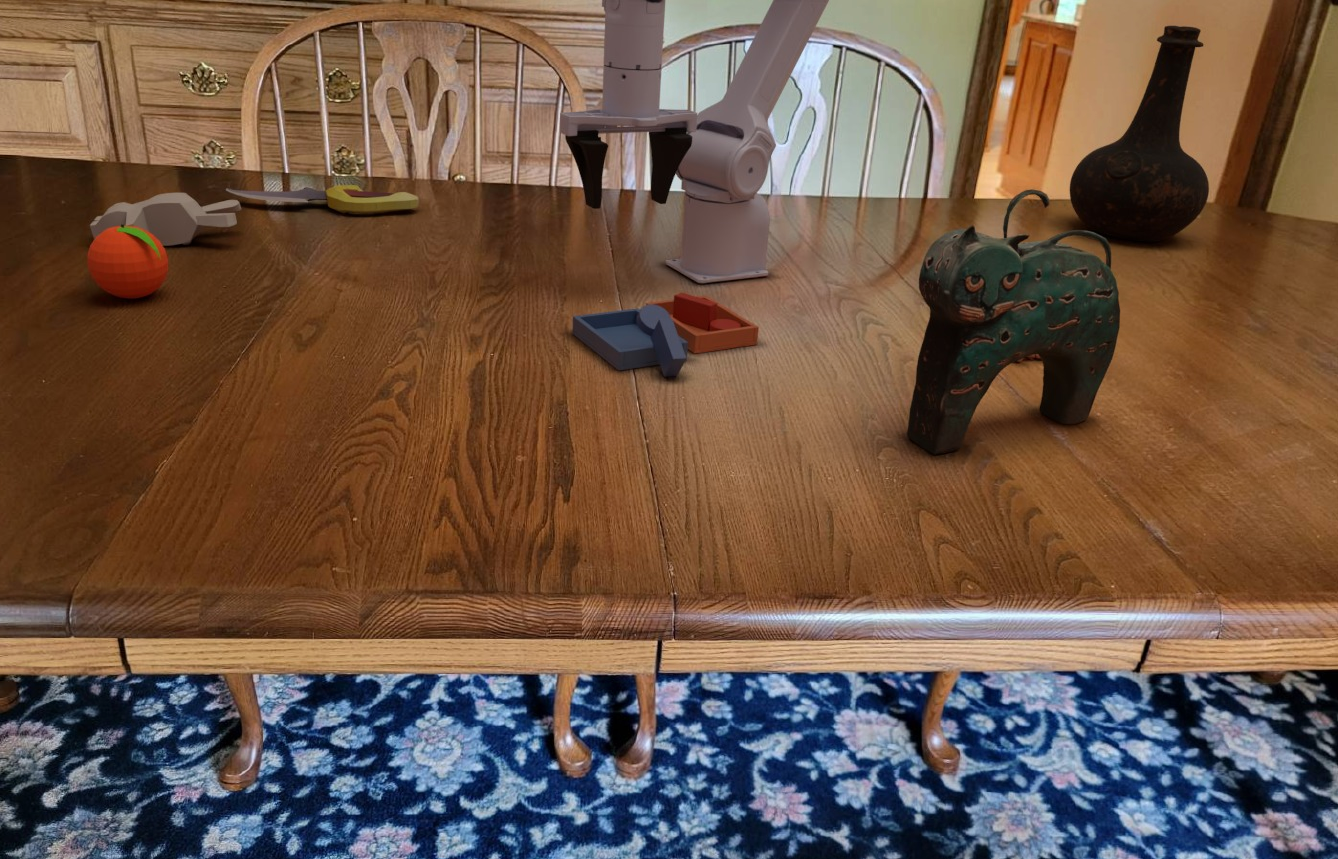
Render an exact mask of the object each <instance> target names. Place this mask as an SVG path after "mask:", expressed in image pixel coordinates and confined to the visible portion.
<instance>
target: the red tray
mask: <svg viewBox="0 0 1338 859" xmlns="http://www.w3.org/2000/svg"><path fill="white" fill-rule="evenodd" d="M698 297H699V298H702V299H705V300H709V301H712V302H715V303H717V315H716V319H729V320H734V321H736V322H738V323H740V325H741V328H734V329H726V330H719V331H712V332H709V331H707V330H704V329H701V328H698V327H694V326H691V325H688V324H685V323H682V322H679V321H678V320H676V319H675V318H673V306H674V299H666V300H658V301H657V300H656V301H649V302H645V306H646V305H650V304H653V305H658V306H660V307H662V308H664V309H665V310H666V311H667V312H668V313H669V315H670V317H671V319H673V322H674V325H675V328H676V330H677V333H678V336H680V337H681V338H683V339H684V340H685V341H687V342H688V349H687V351H690V352H691V353H692V354H700V353H701V354H702V353H708V352H715V351H721V350H728V349H735V348H736V349H737V348H742V347H749V346H755V345H757V344H758V338H759V328H760V327H759V326H758V325H757V324H755V323H753V322H751V321H749V320H748V319H747V318H744V317H743V316H741V315H739V314H738V313H736V312H734V311H732V310H731V309H730V308H728V307H726V306H725V305H723V304H721V303H719V302H717V301H716V300H714V299H712V298H711V297H709V296H708V295H700V296H698Z"/></svg>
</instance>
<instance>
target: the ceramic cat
mask: <svg viewBox="0 0 1338 859" xmlns="http://www.w3.org/2000/svg"><path fill="white" fill-rule="evenodd" d="M1028 196H1037V197H1038V198H1039V199H1040V200H1041V202H1042V204H1043V207H1044V209H1046V208H1048V207H1049V206H1050V198H1049V196H1048V193H1045V192H1043V191H1042V190H1037V189H1034V188H1033V189H1032V188H1031V189H1025V190H1023V191H1021V192H1020V193H1018V194H1016V195H1015V196H1014V197H1013V198H1012V199H1011V200H1010V202H1009V204H1008V206H1007V208H1006V213H1005V216H1004V218H1003V225H1002V231H1003V237H1000V238H999V237H993V236H990V235H987V234H985V233H983V232H979V231H976V228H975V225H974V224H971V225H970V226H969V227H967V228H966V229H964V228H955V229H953V230H950V231H947V232H946V233H944V234H942V235H941V236H940V237H939V238H937V239H936V240H935V241H933V243H932V244H931V245H930V247H929V248H928V250H927V251H926V254H925V255H924V257H923V261H922V265H921V267H920V271H919V276H918V290H919V293H920V295H921V297H922V299H923V300H924V303H925V304H926V305H927V306H928V308H929V318H928V322H927V325H926V328H925V331H924V335H923V340H922V343H921V347H920V349H919V353H918V357H917V363H916V368H915V370H916V371H915V384H914V389H913V394H912V398H911V403H910V406H909V415H908V423H907V430H906V431H907V432H906V437H907V438H908V439H909V440H911V441H912V442H913V443H915V444H916V445H918V446H919V447H920V448H922V449H924V450H925V451H927V452H928V453H930V454H932V455H933V456H935V455H940V454H947V453H950V452H951V453H952V452H957V451H958V450H960V449H961V448H962V445H963V442H964V439H965V437H966V434H967V432H968V429H969V427H970V424H971V421H972V419H973V416H974V414H975V412H976V409H977V408H978V406H979V404H980V402H981V400H982V399H983V398H984V396H985V395H986V393H987V392H988V390H989V389H990V387H991V385H992V383H993V382H994V380H995V379H996V378H997V376H998V375H999V374H1000V373H1001V372H1002V371H1003V370H1004V369H1005V368H1006V367H1008V366H1009V365H1011V364H1014V363H1016V362H1019V361H1018V360H1020V359H1022V358H1024V359H1025V358H1028V357H1027V356H1030V355H1034V354H1038V355H1039V356H1040V357H1041V358H1040V360H1041V362H1042V365H1043V370H1042V371H1043V373H1042V374H1043V375H1042V376H1043V377H1042V393H1041V398H1040V404H1039V408H1038V409H1039V410H1038V411H1039V413H1040V414H1042V415H1043V416H1046V417H1048V418H1050V419H1051V420H1052V421H1054V422H1056V423H1059V424H1063V425H1076V424H1079V423H1083V422H1084V421H1086V420H1087V419H1088V418H1089V415H1090V413H1091V411H1092V408H1093V405H1094V402H1095V400H1096V396H1097V394H1098V392H1099V390H1100V387H1101V385H1102V383H1103V382H1104V378H1105V376H1106V374H1107V372H1108V369H1109V367H1110V365H1111V362H1112V361H1113V357H1114V354H1115V350H1116V347H1117V341H1118V336H1119V333H1120V326H1121V325H1120V324H1121V306H1120V301H1119V299H1120V298H1119V295H1120V292H1119V288H1118V284H1117V279H1116V277H1115V275H1114V273H1113V271H1112V250H1111V245H1110V243H1109V241H1108V239H1107V238H1106V237H1104V236H1102V235H1100V234H1098V233H1096V232H1093V231H1089V230H1085V229H1084V230H1083V229H1082V230H1081V229H1074V230H1073V229H1072V230H1067V231H1064V232H1061V233H1058V234H1056V235H1054V236H1052V237H1050V238H1047V239H1045V240H1041V241H1040V240H1039V241H1036V240H1035V241H1030V242H1029V241H1028V242H1023V241H1026V240H1027V239H1029V237H1030V234H1016V235H1012V236H1009V237H1008V227H1009V221H1010V215H1011V214H1012V211H1013V210H1014V208H1015V207H1016V205H1017V204H1018V203H1019V202H1020V201H1021V200H1022V199H1024V198H1025V197H1028ZM1071 236H1081V237H1084V238H1087V239H1088V238H1089V239H1091V240H1092V239H1093V240H1095V241H1097V242H1099V243H1100V244H1101V246H1102V248H1103V249H1104V253H1105V262H1104V261H1103V260H1102V259H1101V258H1100V257H1099V256H1097V255H1095V254H1093V253H1092V252H1089V251H1087V250H1083V249H1080V248H1076V247H1074V246H1072V245H1070V244H1067V243H1061V242H1059V241H1061V240H1063V239H1065V238H1067V237H1071ZM1022 242H1023V243H1022Z"/></svg>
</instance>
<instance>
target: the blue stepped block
mask: <svg viewBox="0 0 1338 859" xmlns="http://www.w3.org/2000/svg"><path fill="white" fill-rule="evenodd" d="M637 325H638V327H639V328H640V330H641V331H642V332H644V333H645V334H647V335H649V336H651V340H652V343H653V346H654V349H655V352H656V355H657V358H658V361H659V363H660V364H659V366H660V369H661V372H662V375H663V377H664V378H669V377H678V376H679V373H680V372H681V370H682V368H683V366H684V365H685V362H687V360H688V357H687V358H686V355H685V352H684V350H683V347H682V344H681V341H680V339H679V336H678V333H677V330H676V328H675V325H674V322H673V319H671V317H670V315H669V313H668V312H667V311H666V310H665V309H664V308H662V307H660V306H658V305H653V304H650V305H646V304H645V305H644V306H642V307H641V308H640V312H639V314H638V316H637ZM686 359H687V360H686Z"/></svg>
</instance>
